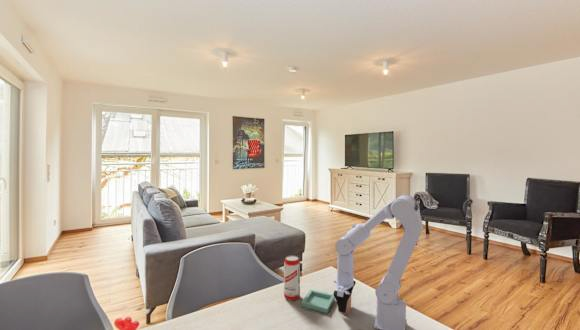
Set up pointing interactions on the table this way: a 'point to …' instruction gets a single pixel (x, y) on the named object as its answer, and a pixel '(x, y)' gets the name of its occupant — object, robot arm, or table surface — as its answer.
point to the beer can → (291, 278)
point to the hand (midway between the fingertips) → (344, 305)
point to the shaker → (348, 308)
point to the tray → (318, 301)
